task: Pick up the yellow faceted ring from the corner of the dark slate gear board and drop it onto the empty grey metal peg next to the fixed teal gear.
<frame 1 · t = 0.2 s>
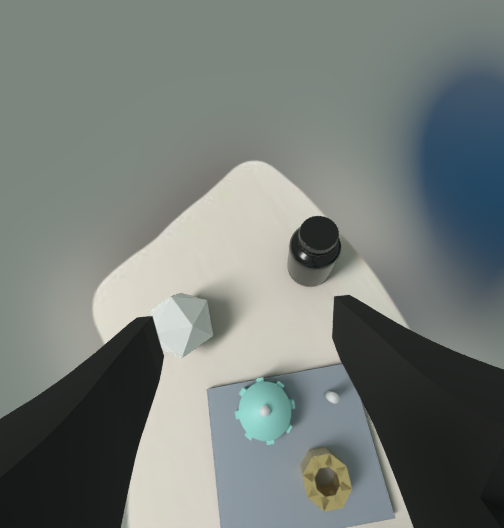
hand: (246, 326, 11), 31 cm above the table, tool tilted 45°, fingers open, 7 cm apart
gear board: (291, 445, 35), on the table
die: (189, 327, 42), on the table
supplement bottle: (307, 268, 44), on the table
yellow faceted ring: (322, 471, 33), point 1 cm above the table, touching gear board
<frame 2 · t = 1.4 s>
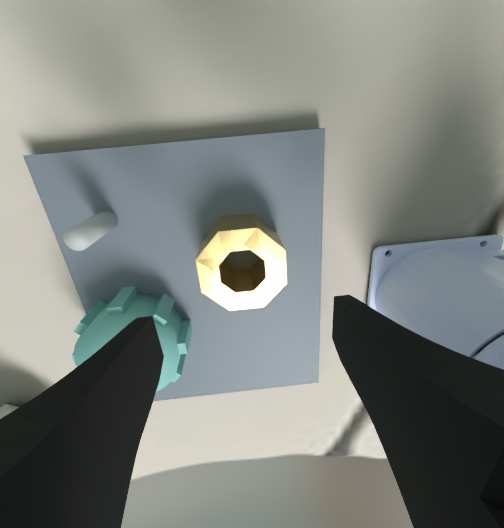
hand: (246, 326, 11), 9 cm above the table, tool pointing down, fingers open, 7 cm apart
gear board: (204, 287, 21), on the table
yellow faceted ring: (241, 251, 18), point 1 cm above the table, touching gear board
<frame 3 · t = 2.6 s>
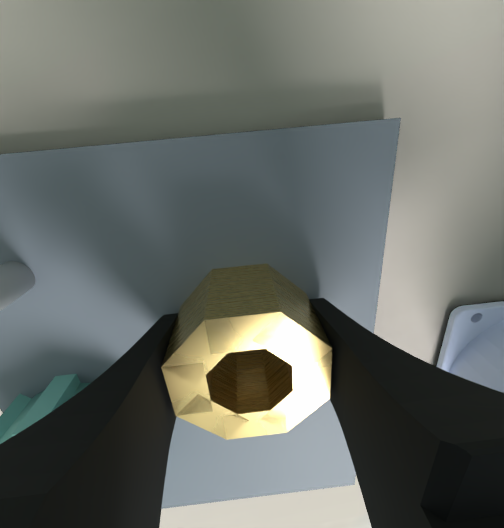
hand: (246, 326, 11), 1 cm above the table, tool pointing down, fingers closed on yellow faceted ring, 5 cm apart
gear board: (189, 365, 13), on the table
yellow faceted ring: (245, 320, 11), point 1 cm above the table, touching gear board, gripper
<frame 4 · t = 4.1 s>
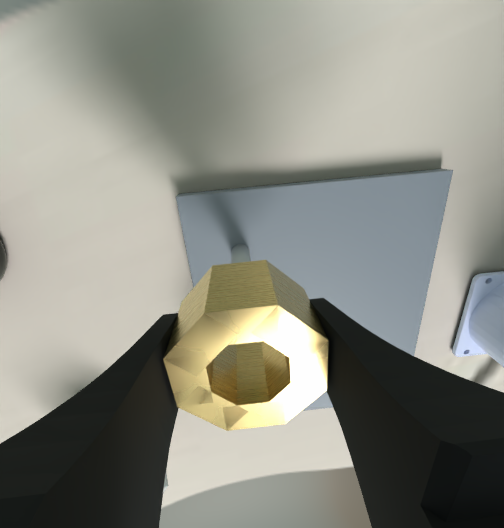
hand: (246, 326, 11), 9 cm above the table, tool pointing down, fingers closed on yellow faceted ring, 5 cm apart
gear board: (310, 311, 22), on the table
yellow faceted ring: (245, 316, 12), point 8 cm above the table, touching gripper
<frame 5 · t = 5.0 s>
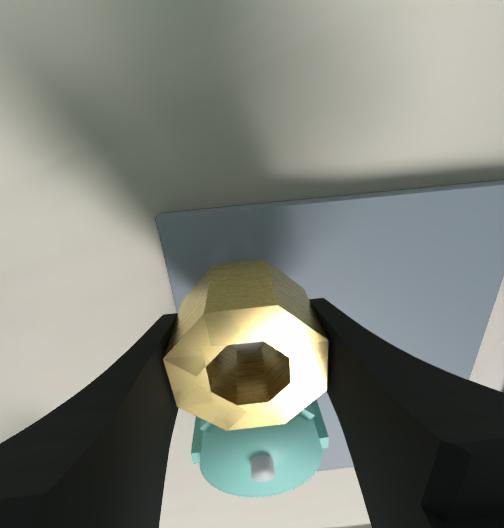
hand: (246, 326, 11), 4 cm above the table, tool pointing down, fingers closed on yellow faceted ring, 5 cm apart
gear board: (332, 357, 17), on the table
yellow faceted ring: (245, 316, 12), point 3 cm above the table, touching gripper
when the fingers open (3 cm above the table, at t = 5.6 s): yellow faceted ring drops 2 cm, resting on gear board.
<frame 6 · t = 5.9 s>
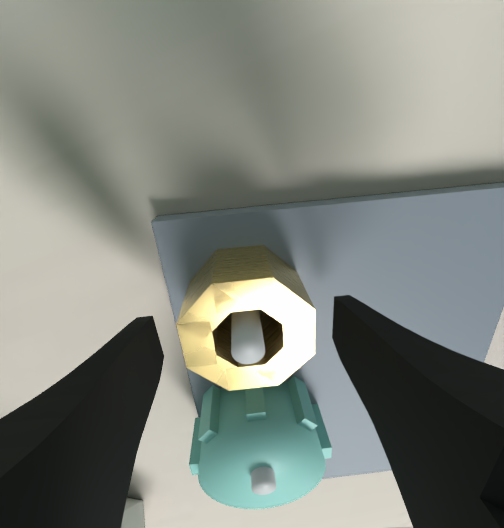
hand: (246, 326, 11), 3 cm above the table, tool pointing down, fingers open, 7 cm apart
gear board: (334, 363, 17), on the table
die: (106, 501, 21), on the table
yellow faceted ring: (245, 295, 13), point 1 cm above the table, touching gear board
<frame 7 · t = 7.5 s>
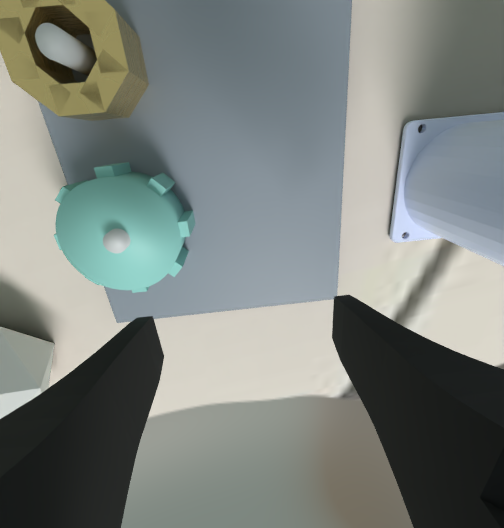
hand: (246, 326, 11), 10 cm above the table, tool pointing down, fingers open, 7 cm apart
gear board: (209, 173, 18), on the table
die: (20, 345, 23), on the table
yellow faceted ring: (96, 65, 14), point 1 cm above the table, touching gear board
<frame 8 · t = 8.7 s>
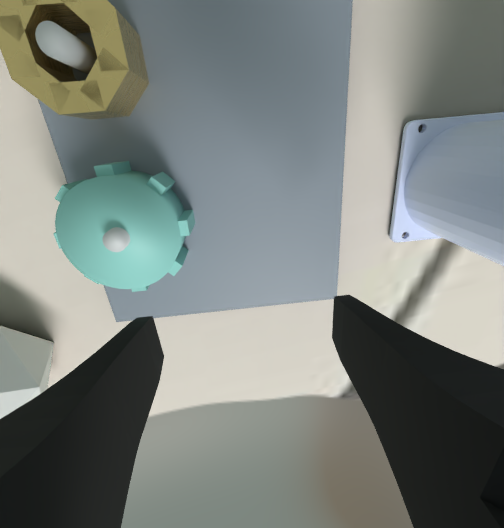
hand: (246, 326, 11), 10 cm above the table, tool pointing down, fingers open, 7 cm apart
gear board: (209, 173, 18), on the table
die: (19, 344, 23), on the table
yellow faceted ring: (96, 63, 14), point 1 cm above the table, touching gear board
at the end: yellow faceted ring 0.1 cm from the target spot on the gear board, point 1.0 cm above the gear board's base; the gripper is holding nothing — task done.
